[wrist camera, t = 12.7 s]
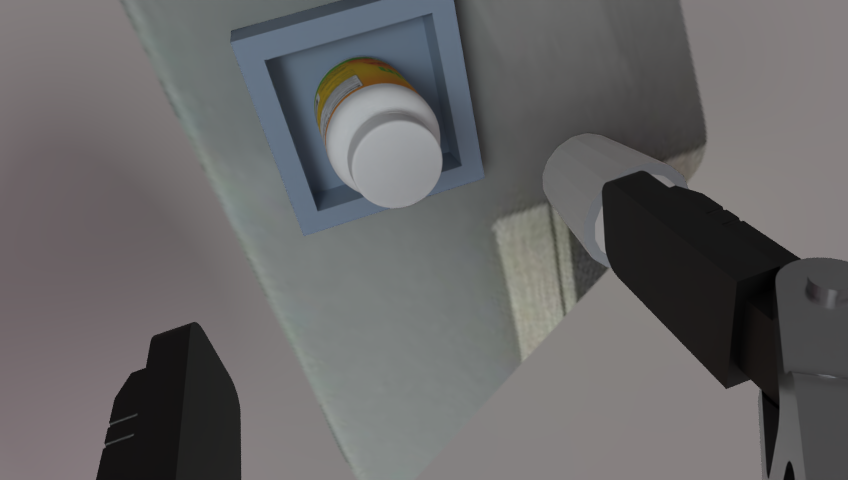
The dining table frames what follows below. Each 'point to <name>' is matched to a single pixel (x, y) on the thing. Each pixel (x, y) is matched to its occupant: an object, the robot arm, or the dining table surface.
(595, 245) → the shot glass
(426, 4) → the tray
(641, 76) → the dining table surface
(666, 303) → the robot arm
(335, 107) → the supplement bottle
